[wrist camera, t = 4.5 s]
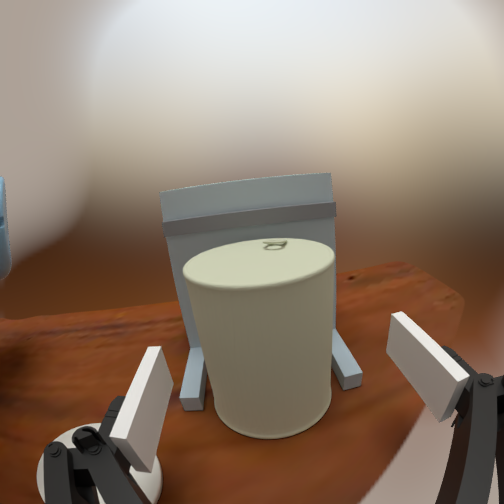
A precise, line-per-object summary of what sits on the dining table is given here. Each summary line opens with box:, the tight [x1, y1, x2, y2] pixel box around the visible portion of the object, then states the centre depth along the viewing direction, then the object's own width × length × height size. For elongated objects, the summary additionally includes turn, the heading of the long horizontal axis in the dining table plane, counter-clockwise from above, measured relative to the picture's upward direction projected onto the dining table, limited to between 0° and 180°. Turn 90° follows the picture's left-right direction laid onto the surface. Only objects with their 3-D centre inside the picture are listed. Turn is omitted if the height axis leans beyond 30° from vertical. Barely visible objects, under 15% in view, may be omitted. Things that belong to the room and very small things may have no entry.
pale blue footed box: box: [159, 173, 363, 411], centre depth 23 cm, size 14×14×16 cm
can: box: [183, 238, 335, 439], centre depth 18 cm, size 9×9×12 cm
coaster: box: [37, 423, 163, 504], centre depth 11 cm, size 10×10×1 cm
